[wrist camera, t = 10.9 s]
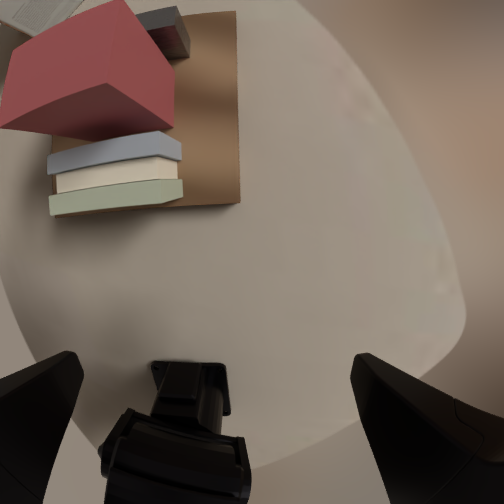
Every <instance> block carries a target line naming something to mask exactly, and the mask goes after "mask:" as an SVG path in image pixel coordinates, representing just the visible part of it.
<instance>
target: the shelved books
mask: <svg viewBox="0 0 504 504" xmlns="http://www.w3.org/2000/svg"><path fill="white" fill-rule="evenodd" d="M179 160H182V154H181V143H180V142H179V141H177V140H175V139H173V138H171V137H170V136H168V135H166V134H164V133H162V132H160V131H155V132H148V133H142V134H136V135H130V136H125V137H119V138H114V139H109V140H105V141H100V142H96V143H91V144H87V145H83V146H79V147H75V148H71V149H68V150H64V151H61V152H57V153H54V154H50V155H47V175H53V174H56V182H57V194H56V195H51V196H49V208H50V216H51V215H58V214H65V213H73V212H80V211H88V210H97V209H105V208H114V207H124V206H135V205H146V204H158V203H164V202H167V201H171V200H174V199H178V198H181V197H183V183H182V179H178V176H177V161H179ZM66 192H67V193H66ZM59 193H62V194H59Z"/></svg>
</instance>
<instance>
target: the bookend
mask: <svg viewBox="0 0 504 504" xmlns="http://www.w3.org/2000/svg"><path fill="white" fill-rule="evenodd" d="M135 16H136V17H137V19H138V20H139V21H140V23H141V24H142V26H143V27H144V28H145V30H146V31H147V33H148V34H149V35H150V37H151V38H152V40H153V41H154V42H155V44H156V45H157V47H158V48H159V49H160V51H161V52H162V54H163V55H164V57H165V58H166V60H167V61H170V60H177V59H184V58H190V47H191V39H190V37H189V35H188V32H187V30H186V27H185V25H184V22H183V20H182V18H181V15H180V13H179V11H178V8H177V6H173V7H167V8H162V9H157V10H153V11H149V12H144V13H140V14H137V15H135Z"/></svg>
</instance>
